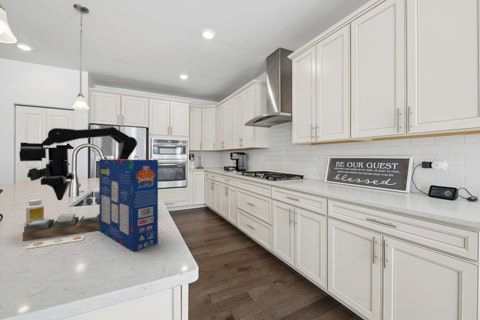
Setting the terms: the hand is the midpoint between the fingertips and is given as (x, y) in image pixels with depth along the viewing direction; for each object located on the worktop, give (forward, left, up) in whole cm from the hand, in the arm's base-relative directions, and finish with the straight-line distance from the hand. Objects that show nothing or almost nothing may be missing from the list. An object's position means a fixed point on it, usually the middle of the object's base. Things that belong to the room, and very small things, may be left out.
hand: (60, 200), depth 79 cm
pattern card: (-3, +15, -12) cm, 19 cm away
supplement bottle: (+12, -17, -12) cm, 24 cm away
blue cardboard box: (-23, +21, -12) cm, 33 cm away
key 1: (+4, +5, -9) cm, 11 cm away
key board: (-3, +5, -12) cm, 13 cm away
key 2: (-11, +5, -9) cm, 15 cm away
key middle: (-3, +5, -7) cm, 10 cm away
